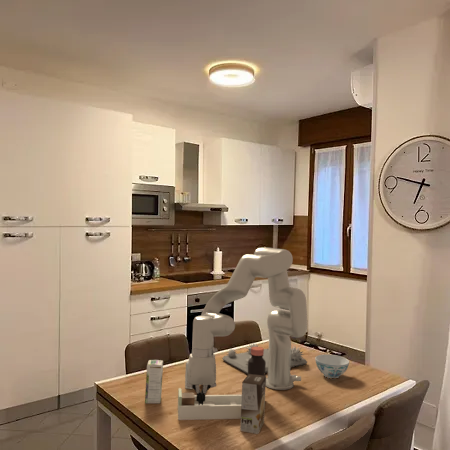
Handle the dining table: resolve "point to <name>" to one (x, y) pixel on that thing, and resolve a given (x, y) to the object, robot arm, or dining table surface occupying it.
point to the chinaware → (331, 365)
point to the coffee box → (253, 403)
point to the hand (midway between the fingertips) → (200, 403)
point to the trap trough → (211, 407)
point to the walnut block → (188, 399)
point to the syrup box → (154, 381)
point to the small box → (186, 377)
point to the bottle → (256, 362)
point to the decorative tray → (242, 358)
